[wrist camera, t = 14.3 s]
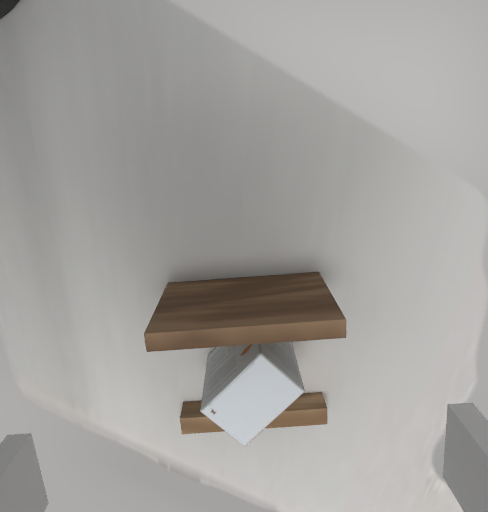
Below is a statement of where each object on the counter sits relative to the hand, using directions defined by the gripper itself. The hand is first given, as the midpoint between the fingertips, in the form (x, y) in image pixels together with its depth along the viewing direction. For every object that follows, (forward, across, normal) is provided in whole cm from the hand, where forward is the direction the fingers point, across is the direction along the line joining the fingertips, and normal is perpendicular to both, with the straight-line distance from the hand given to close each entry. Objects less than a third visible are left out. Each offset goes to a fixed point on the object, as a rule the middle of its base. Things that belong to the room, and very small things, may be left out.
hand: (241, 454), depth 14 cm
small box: (+32, 0, -13) cm, 35 cm away
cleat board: (+32, 0, -13) cm, 34 cm away
